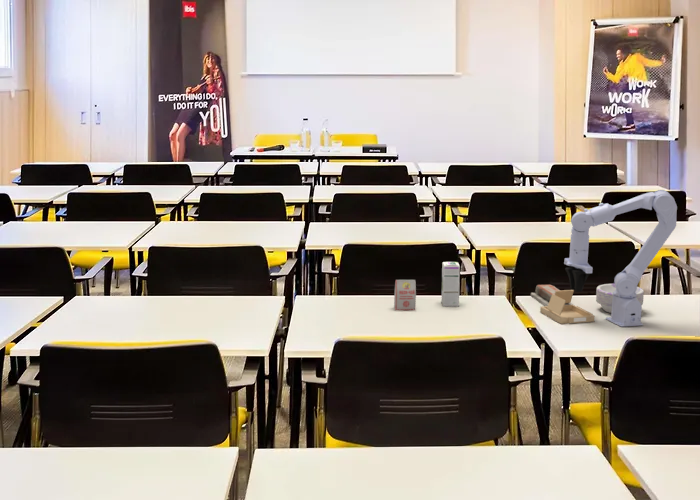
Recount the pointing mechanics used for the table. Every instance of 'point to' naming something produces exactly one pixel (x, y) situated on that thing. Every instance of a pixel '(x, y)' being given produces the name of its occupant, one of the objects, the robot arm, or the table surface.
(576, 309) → the carton
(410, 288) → the white food box
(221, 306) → the table surface
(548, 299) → the packaged product
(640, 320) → the robot arm
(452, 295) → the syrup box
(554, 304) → the left flap
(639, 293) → the paper bowls
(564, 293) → the far flap
